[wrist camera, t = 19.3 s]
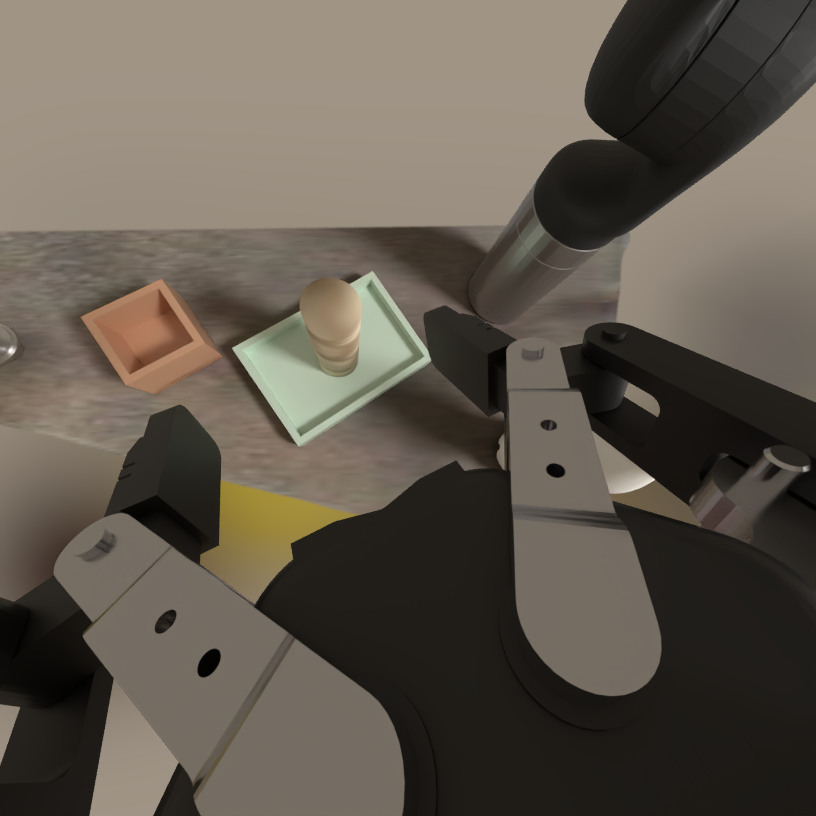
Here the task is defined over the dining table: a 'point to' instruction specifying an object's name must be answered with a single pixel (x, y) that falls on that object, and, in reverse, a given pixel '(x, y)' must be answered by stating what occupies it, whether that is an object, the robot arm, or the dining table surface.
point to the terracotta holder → (152, 337)
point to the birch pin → (333, 324)
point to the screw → (9, 345)
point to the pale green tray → (316, 390)
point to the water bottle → (608, 467)
